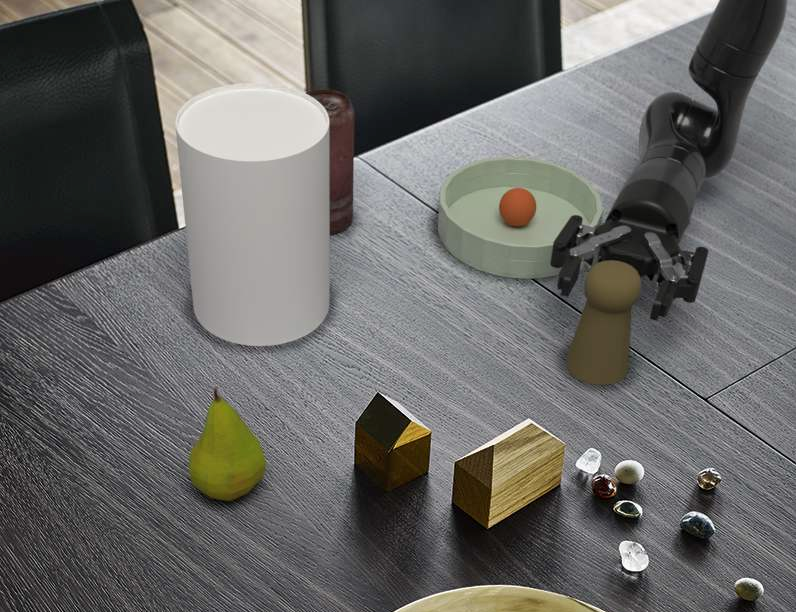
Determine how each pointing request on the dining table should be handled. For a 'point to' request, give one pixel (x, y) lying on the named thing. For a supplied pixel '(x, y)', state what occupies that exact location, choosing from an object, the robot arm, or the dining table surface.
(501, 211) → the ball
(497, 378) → the dining table surface
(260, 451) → the fruit
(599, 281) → the brown pawn
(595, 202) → the bowl
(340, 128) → the can
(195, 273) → the canister
